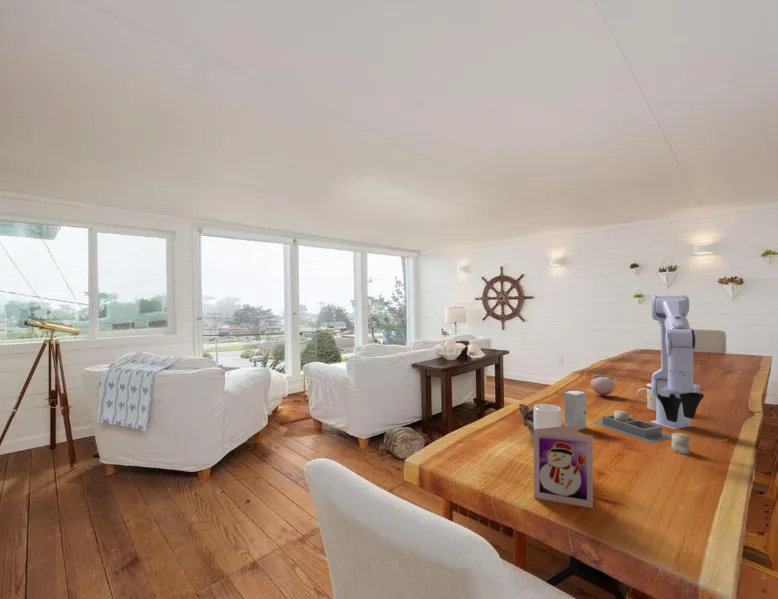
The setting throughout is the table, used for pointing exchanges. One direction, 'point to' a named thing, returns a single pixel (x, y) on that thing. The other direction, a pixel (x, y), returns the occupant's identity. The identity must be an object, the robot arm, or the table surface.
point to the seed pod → (528, 417)
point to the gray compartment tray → (634, 428)
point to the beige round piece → (621, 416)
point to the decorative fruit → (602, 384)
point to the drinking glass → (547, 416)
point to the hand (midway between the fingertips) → (680, 419)
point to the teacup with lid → (648, 397)
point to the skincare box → (575, 409)
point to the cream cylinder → (681, 443)
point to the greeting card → (563, 466)
